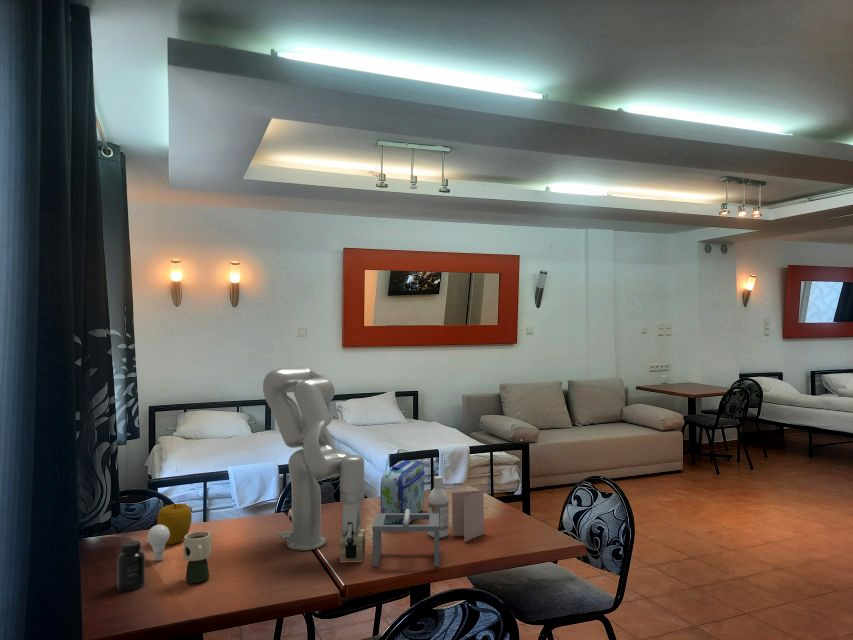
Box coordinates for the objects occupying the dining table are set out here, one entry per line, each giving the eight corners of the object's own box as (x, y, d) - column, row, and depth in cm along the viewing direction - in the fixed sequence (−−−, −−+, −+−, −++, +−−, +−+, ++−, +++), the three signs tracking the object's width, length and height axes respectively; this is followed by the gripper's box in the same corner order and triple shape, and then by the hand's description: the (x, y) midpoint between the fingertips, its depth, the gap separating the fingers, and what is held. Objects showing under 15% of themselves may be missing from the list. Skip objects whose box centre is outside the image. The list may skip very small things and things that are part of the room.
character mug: (181, 576, 175) (181, 531, 175) (207, 571, 178) (207, 527, 178) (186, 590, 165) (186, 542, 165) (213, 585, 168) (213, 538, 169)
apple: (184, 548, 197) (184, 508, 197) (150, 548, 197) (151, 509, 197) (196, 536, 208) (196, 499, 208) (165, 537, 208) (165, 499, 208)
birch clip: (362, 562, 184) (362, 536, 184) (339, 562, 184) (339, 536, 184) (364, 554, 191) (364, 529, 191) (342, 554, 191) (342, 529, 191)
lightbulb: (148, 558, 188) (148, 523, 189) (170, 555, 191) (170, 520, 191) (146, 565, 183) (146, 529, 183) (169, 562, 185) (169, 526, 185)
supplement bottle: (148, 581, 171) (148, 539, 171) (138, 591, 164) (138, 547, 165) (124, 581, 171) (124, 539, 171) (112, 592, 164) (112, 548, 164)
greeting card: (482, 532, 211) (482, 489, 211) (490, 539, 203) (490, 495, 204) (451, 535, 208) (451, 492, 208) (458, 543, 200) (458, 497, 201)
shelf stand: (372, 566, 181) (372, 521, 181) (376, 550, 194) (376, 508, 194) (439, 566, 181) (439, 521, 181) (438, 550, 194) (438, 508, 194)
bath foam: (426, 532, 211) (425, 475, 211) (444, 530, 213) (444, 473, 213) (432, 539, 204) (431, 480, 205) (451, 537, 206) (450, 478, 207)
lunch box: (405, 531, 213) (404, 471, 213) (377, 528, 216) (376, 469, 216) (427, 510, 237) (427, 456, 238) (402, 507, 241) (402, 455, 241)
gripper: (344, 488, 196) (344, 543, 196) (335, 503, 179) (336, 564, 179) (367, 488, 196) (367, 543, 196) (360, 503, 179) (361, 564, 179)
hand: (352, 553), depth 187 cm, fingers closed on birch clip, 6 cm apart
